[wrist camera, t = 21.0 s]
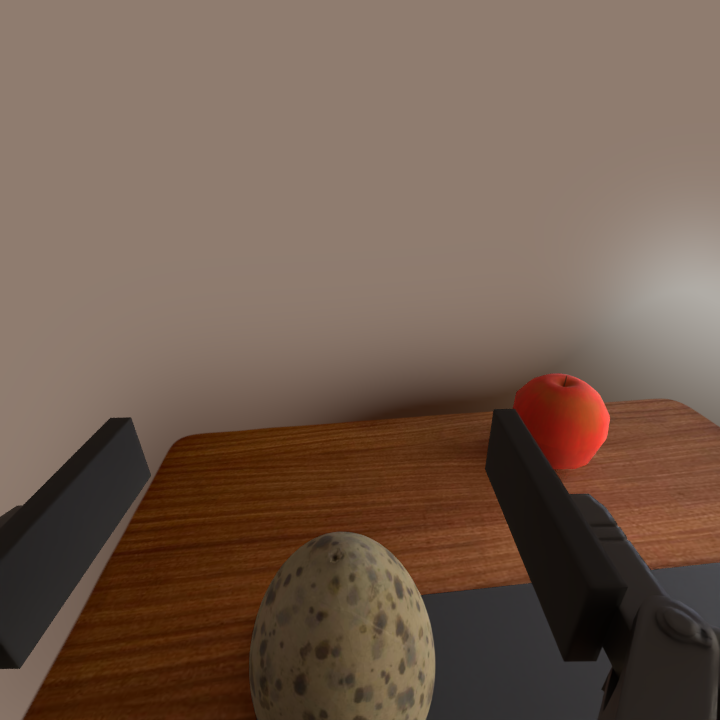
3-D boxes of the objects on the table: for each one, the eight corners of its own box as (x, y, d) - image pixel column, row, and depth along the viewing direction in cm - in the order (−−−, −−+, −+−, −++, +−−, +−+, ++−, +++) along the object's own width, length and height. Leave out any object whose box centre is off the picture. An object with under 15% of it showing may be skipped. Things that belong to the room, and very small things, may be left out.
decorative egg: (451, 671, 28) (472, 521, 21) (383, 888, 20) (382, 754, 13) (326, 599, 33) (311, 459, 26) (229, 749, 25) (172, 599, 18)
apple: (614, 471, 46) (642, 386, 41) (547, 496, 43) (569, 407, 38) (548, 424, 55) (565, 349, 50) (488, 442, 52) (500, 364, 46)
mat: (238, 898, 20) (236, 894, 20) (269, 615, 32) (268, 611, 32) (1062, 766, 23) (1070, 762, 23) (802, 557, 36) (805, 552, 35)
